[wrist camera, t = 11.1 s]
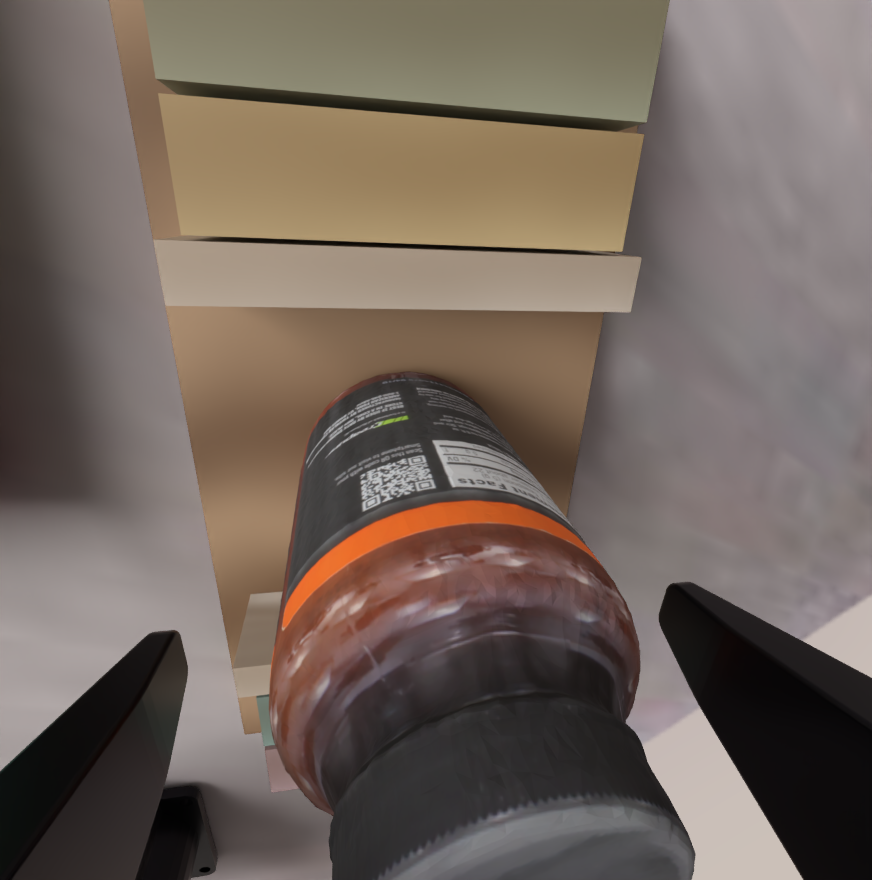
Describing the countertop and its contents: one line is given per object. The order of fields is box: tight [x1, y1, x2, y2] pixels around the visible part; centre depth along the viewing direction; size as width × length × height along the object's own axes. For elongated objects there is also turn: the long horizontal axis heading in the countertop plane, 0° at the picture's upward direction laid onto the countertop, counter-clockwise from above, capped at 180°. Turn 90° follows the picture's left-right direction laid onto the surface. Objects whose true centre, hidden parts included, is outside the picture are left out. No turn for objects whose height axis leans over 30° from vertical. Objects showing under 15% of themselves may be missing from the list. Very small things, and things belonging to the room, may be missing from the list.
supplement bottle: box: [269, 372, 695, 880], centre depth 10 cm, size 6×6×11 cm
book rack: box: [109, 0, 670, 793], centre depth 14 cm, size 24×12×4 cm, turn 177°
